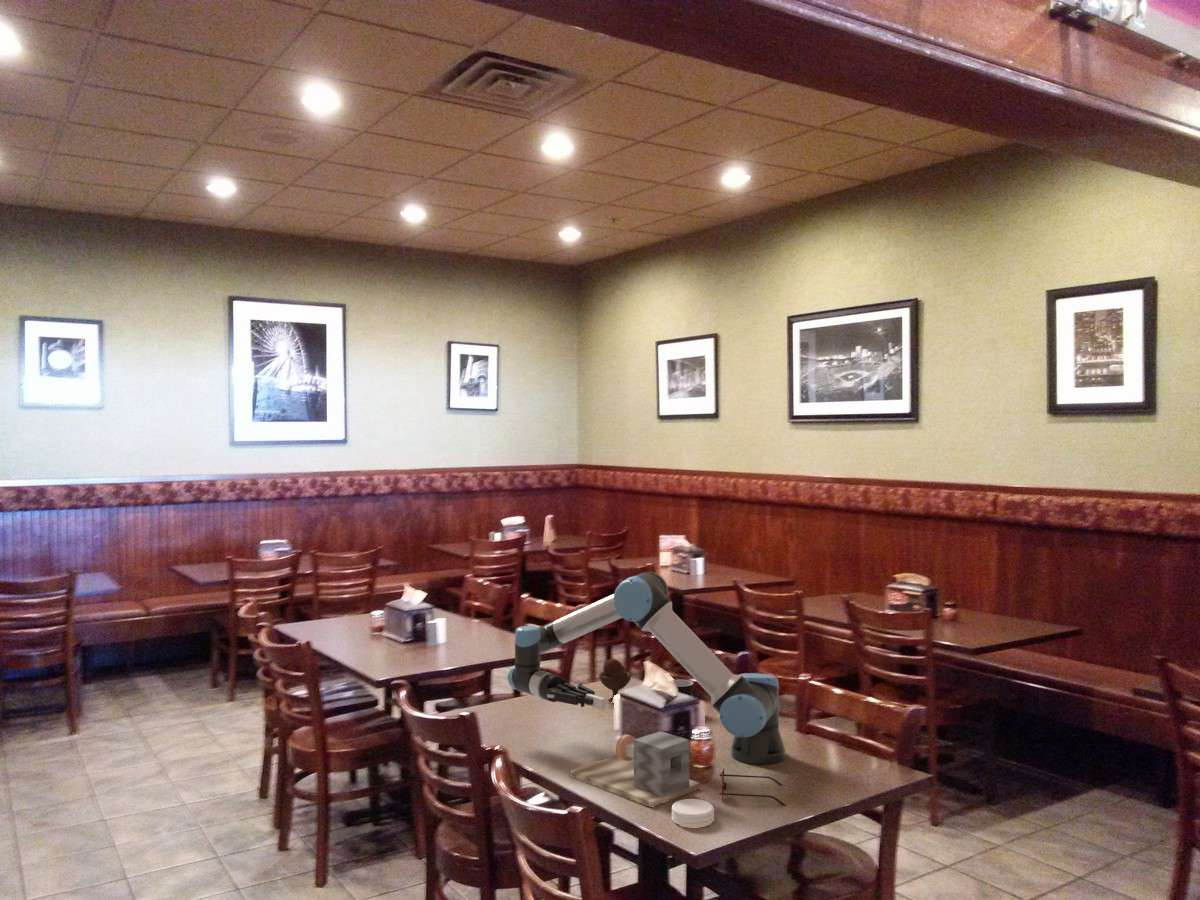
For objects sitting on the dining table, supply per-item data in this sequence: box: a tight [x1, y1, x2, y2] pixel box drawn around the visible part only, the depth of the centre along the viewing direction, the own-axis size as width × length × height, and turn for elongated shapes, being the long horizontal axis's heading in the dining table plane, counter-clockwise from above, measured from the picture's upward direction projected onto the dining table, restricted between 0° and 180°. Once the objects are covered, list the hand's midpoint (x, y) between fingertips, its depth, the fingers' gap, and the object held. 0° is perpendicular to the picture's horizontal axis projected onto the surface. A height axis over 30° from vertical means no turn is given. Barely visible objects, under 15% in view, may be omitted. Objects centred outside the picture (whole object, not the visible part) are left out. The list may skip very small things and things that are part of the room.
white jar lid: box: [671, 798, 715, 827], centre depth 217 cm, size 10×10×4 cm
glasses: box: [718, 768, 786, 806], centre depth 233 cm, size 14×16×5 cm
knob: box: [615, 734, 637, 761], centre depth 238 cm, size 14×6×6 cm, turn 43°
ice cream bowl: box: [598, 658, 632, 704], centre depth 316 cm, size 11×11×15 cm
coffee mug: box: [673, 679, 694, 697], centre depth 304 cm, size 12×9×10 cm
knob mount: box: [570, 730, 701, 808], centre depth 241 cm, size 30×18×14 cm, turn 43°
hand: (603, 703), depth 249 cm, fingers closed
